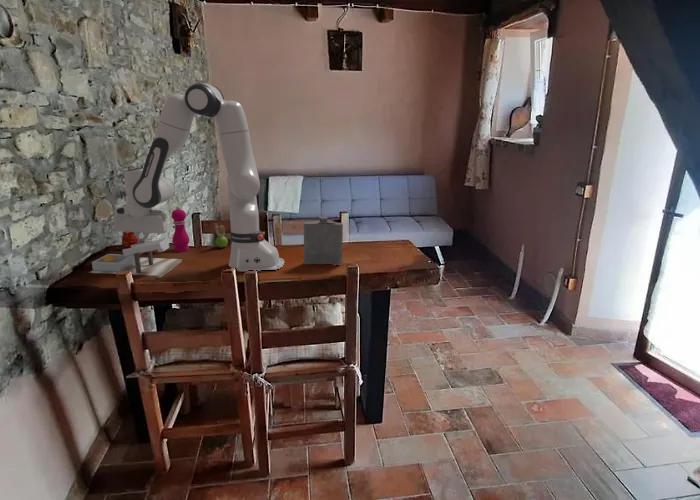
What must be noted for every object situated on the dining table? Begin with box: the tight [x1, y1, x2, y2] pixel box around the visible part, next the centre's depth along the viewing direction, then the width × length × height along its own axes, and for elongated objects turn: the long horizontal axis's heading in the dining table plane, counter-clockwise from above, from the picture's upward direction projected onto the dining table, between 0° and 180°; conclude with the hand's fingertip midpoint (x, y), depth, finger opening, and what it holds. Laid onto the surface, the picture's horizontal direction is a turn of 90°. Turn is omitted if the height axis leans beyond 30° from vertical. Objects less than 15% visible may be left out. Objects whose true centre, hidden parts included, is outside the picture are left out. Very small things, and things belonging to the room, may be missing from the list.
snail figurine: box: [214, 223, 229, 249], centre depth 203 cm, size 5×6×12 cm
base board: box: [88, 251, 183, 279], centre depth 174 cm, size 27×20×8 cm
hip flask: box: [303, 215, 344, 266], centre depth 184 cm, size 16×4×20 cm, turn 90°
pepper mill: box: [171, 205, 190, 253], centre depth 197 cm, size 7×7×20 cm
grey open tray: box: [91, 253, 135, 272], centre depth 172 cm, size 11×11×4 cm
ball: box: [103, 256, 115, 263], centre depth 172 cm, size 4×4×4 cm
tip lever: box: [121, 237, 170, 256], centre depth 174 cm, size 16×17×4 cm
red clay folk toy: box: [121, 232, 140, 250], centre depth 197 cm, size 8×7×15 cm
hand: (142, 242), depth 180 cm, fingers closed
